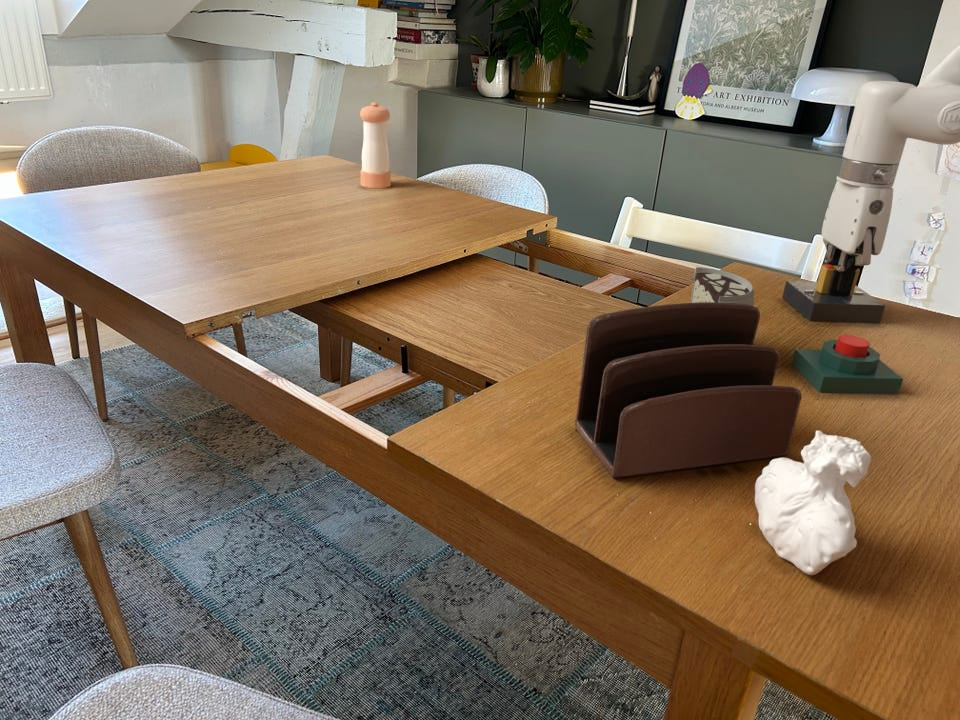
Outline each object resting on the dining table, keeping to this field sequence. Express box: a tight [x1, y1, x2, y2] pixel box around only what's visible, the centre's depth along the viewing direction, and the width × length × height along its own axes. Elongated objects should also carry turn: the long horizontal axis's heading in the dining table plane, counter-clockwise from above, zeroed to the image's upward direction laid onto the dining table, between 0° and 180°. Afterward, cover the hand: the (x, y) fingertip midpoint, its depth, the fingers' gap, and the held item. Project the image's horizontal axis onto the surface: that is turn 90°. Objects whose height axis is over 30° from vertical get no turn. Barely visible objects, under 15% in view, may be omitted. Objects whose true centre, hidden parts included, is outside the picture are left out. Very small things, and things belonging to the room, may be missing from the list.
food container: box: [690, 266, 755, 307], centre depth 96 cm, size 12×6×10 cm, turn 179°
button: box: [835, 334, 871, 358], centre depth 91 cm, size 4×4×2 cm
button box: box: [791, 339, 904, 395], centre depth 92 cm, size 10×8×4 cm
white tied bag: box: [754, 429, 872, 576], centre depth 61 cm, size 12×8×11 cm
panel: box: [781, 280, 886, 324], centre depth 115 cm, size 11×10×3 cm
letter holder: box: [574, 302, 802, 479], centre depth 74 cm, size 10×20×14 cm, turn 106°
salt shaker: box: [359, 101, 392, 189], centre depth 175 cm, size 7×7×19 cm
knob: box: [816, 263, 861, 295], centre depth 113 cm, size 5×2×4 cm, turn 93°
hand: (834, 291), depth 114 cm, fingers closed on knob, 2 cm apart
